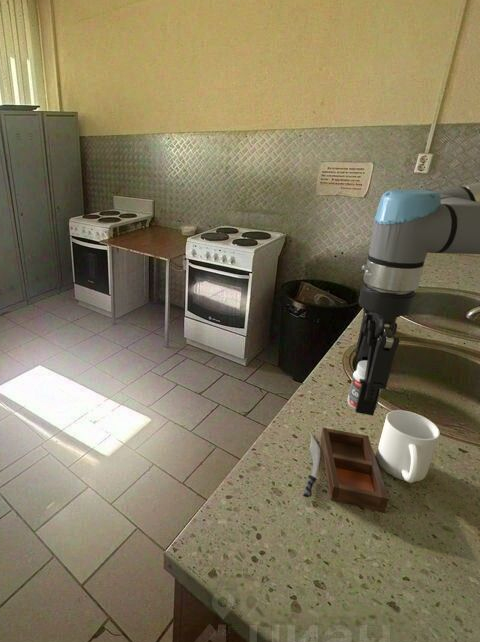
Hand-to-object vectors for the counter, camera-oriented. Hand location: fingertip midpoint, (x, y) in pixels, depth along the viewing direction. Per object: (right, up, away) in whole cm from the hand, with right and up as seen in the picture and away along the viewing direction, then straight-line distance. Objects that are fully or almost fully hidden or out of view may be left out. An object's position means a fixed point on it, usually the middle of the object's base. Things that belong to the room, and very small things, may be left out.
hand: (361, 403), depth 73 cm
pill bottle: (0, 0, 0) cm, 1 cm away
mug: (+10, -15, +3) cm, 18 cm away
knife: (-7, -14, +6) cm, 17 cm away
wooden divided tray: (0, -15, +4) cm, 15 cm away
